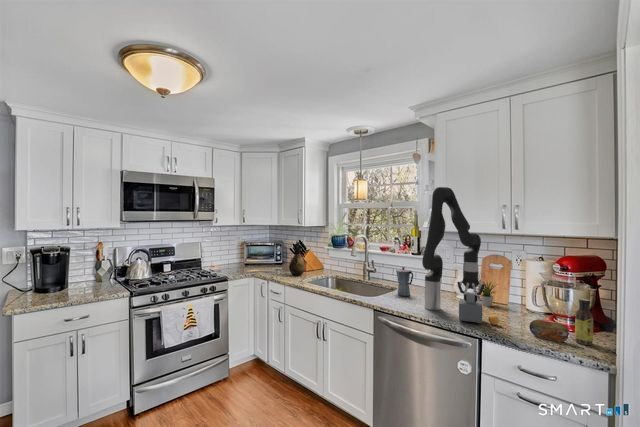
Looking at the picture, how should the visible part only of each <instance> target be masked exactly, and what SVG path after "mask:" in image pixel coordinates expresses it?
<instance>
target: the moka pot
mask: <svg viewBox="0 0 640 427" xmlns="http://www.w3.org/2000/svg"><path fill="white" fill-rule="evenodd" d="M395 272H396V278H397V281H398V285H397V287H398V288H397V295H398V296H401V297H409V296H411V291H410V285H412V282H413V278H414V273H413V272H412V270H407V269H405V267H404V266H402V267H401V269H397V270H395ZM410 276H411V277H410Z"/></svg>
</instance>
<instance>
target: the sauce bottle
mask: <svg viewBox="0 0 640 427" xmlns="http://www.w3.org/2000/svg"><path fill="white" fill-rule="evenodd" d="M578 304H579V306H578V309H577V311H576V312H575V320H574V322H575V324H574V339H575V340H574V341H575V342H576V343H577V344H580V345H584V346H592V345H593V342H594V316H593V313H592V312H591V310H590V306H591V300H590V299H586V298H578Z"/></svg>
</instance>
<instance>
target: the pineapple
mask: <svg viewBox="0 0 640 427" xmlns="http://www.w3.org/2000/svg"><path fill="white" fill-rule="evenodd" d="M301 250H303V245H300V244H299V243H295V244H294V246H293V251H294V252H293V253H294V254H293V256H292V258H291V260H290V262H289V265H288V269H289V272H290V273H291V276H292V277H302V275H303V274H304V272H305V271H306V263H305V260H304V258H303V256H302V255H301V253H300V252H301Z"/></svg>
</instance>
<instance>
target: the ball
mask: <svg viewBox="0 0 640 427" xmlns="http://www.w3.org/2000/svg"><path fill="white" fill-rule="evenodd" d="M488 323H489V324H491V325H493V326H497V325H498V324H499V323H500V318H499V316H497V315H496V314H490V315H489V316H488Z"/></svg>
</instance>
